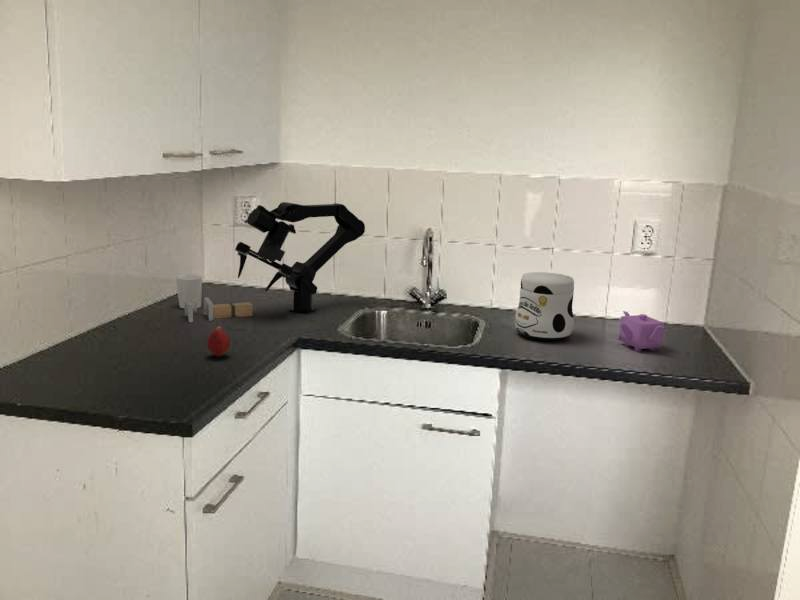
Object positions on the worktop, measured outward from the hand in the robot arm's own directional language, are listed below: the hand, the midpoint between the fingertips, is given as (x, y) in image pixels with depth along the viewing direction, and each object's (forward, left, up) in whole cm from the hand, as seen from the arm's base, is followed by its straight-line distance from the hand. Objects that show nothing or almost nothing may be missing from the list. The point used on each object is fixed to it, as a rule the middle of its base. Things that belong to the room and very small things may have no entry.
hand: (252, 284), depth 221 cm
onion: (+36, +16, -11) cm, 41 cm away
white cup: (0, -25, -11) cm, 27 cm away
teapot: (-33, +111, -11) cm, 116 cm away
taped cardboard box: (+1, -7, -11) cm, 13 cm away
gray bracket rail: (+8, -14, -11) cm, 20 cm away
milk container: (-30, +84, -11) cm, 90 cm away
